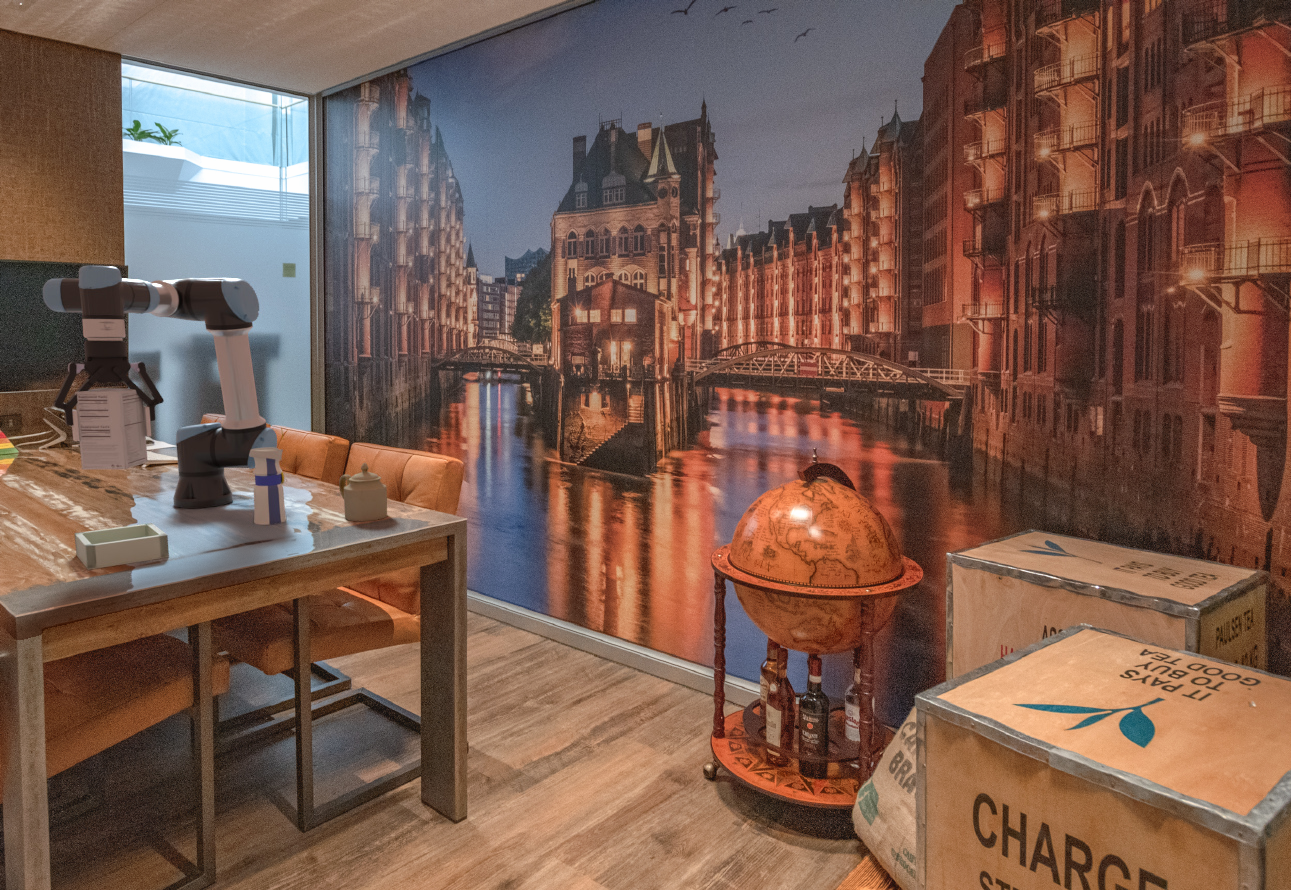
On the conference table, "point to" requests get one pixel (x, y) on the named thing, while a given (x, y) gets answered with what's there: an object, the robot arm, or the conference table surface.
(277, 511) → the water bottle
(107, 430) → the supplement box
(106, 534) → the crate
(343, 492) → the sugar bowl
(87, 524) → the conference table surface
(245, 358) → the robot arm
